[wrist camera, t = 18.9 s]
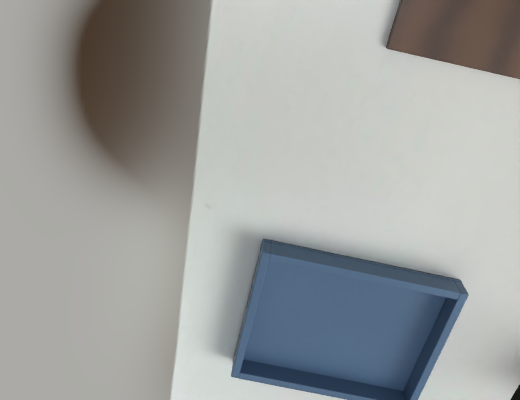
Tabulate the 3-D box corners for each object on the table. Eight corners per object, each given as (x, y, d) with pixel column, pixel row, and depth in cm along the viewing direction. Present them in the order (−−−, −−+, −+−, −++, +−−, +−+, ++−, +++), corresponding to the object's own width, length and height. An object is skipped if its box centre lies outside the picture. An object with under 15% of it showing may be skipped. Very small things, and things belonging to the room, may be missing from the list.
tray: (233, 360, 53) (230, 377, 51) (263, 238, 47) (261, 251, 44) (407, 394, 54) (411, 412, 52) (460, 280, 48) (469, 294, 45)
